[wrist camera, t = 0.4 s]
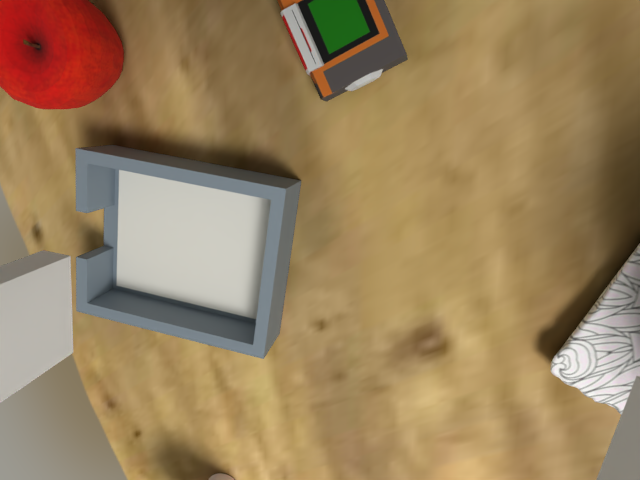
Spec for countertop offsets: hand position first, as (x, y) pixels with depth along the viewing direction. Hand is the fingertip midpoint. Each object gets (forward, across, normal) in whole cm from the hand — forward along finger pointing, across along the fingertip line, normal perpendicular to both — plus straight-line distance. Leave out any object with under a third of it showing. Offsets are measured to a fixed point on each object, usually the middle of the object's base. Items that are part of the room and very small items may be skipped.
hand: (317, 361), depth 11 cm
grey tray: (+26, -16, -7) cm, 32 cm away
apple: (+27, -25, +7) cm, 37 cm away
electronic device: (+27, -7, +14) cm, 31 cm away
